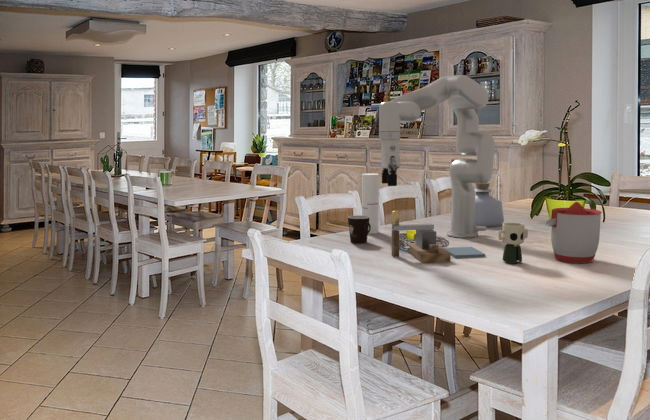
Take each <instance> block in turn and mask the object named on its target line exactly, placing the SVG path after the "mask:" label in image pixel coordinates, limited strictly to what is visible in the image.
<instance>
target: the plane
mask: <svg viewBox="0 0 650 420" xmlns="http://www.w3.org/2000/svg"><path fill="white" fill-rule="evenodd" d="M413 240H414V241H416V233H413ZM407 244H408V246H409V247H410V249H409V250H408V251H406V252H407V253H408V254H409V255H410V256H412V257H413V258H414V259H416V260H417V261H419V263H421V264H433V263H437V264H438V263H450V262H451V259H452V256H451V253H449V252H448V251H446V250H445V249H443V248H444V247H441V246H440V245H439V244H437V243H436V244H430V249H421V248H420V247H418V246H417V245H416V243H407ZM391 257H393V258H399V257H400V230H395V231H394V230H392V229H391Z"/></svg>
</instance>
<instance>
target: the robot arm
mask: <svg viewBox="0 0 650 420" xmlns="http://www.w3.org/2000/svg"><path fill="white" fill-rule="evenodd" d="M445 101H447V102H448V105H449V107H450V108H451V109H452V111H453V112H454V114H455V116H456V119H457V120H456V121H457V125H456V126H457V127H456V138H455V151H456V153H458V155H461V156H467V157H468V156H471V157H476V159H475V158H474V159H472V158H458V159H455V160H453V162H451V163H450V167H449V176H450V177H449V178H450V182H451V208H450V209H451V213H450V214H451V216H450V217H451V219H450V230H448V231H447V232H446V235H447V236H449V237H452V238H460V239H466V238H468V239H470V238H471V239H472V238H476V237H478V236H479V231H480V232H484V231H486V230H487V227H486V226H477V225H475V195H476V192H475V190H474V189H475V187H474V185H473V184H476V183H479V184H484V183H489V182H490V180H491V178H492V176H493V172H494V163H495V161H494V160H495V151H496V150H495V149H496V143H495V142H496V141H495V139H494V137H493V136H492V134H491V133H488V132H483V131H482V132H480V131H479V129H480V126H479V125H480V121H479V120H480V119H479V116H478V114H477V112H476V110H481V109H483V108H485V107H486V106H487V104H488V102H489V93H488V91H487V89H486V88H485V87H484V86H482V85H481V84H479V83H478V82H477V81H475V80H474V79H473V78H470V77H469V76H467V75H464V74H457V75H455V74H454V75H446V76H442V77H440V78H438V79H436V80H434V81H432V82H431V83H429V84H427V85H425V86H424V87H421V88H418V89H416V90H412V91H410V92H407V93H404V94H401V95H399V96H397V97H395V98H393V99H391V100H390V101H383V102H381V103H380V104H379V108H378V110H379V111H378V112H379V113H378V115H379V117H378V141H379V142H381V146H380V165H381V167H382V168H381V183H382V184H387V187H397V185H398V171H397V170H398V169H399V168H400V164H401V163H400V143H399V142H401V123H413V122H416V121H417V120H418V119H419V118H420V116H421V112H423V111H427V110H432V109H434V108H435V107H438V106H439V105H440V104H442V103H444V102H445Z"/></svg>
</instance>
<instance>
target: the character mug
mask: <svg viewBox="0 0 650 420" xmlns="http://www.w3.org/2000/svg"><path fill="white" fill-rule="evenodd" d="M501 227H502V229H500V230H498V235H497V237H498V240H499V241H501V242H502V243H504V244H505V246H504V247H503V253H502V261H504V262H505V263H509V264H510V263H512V264H516V263H517V262H518V263H522V262H523V256H522V255H523V254H522V253H523V252H522V247H521V245H522V244H523V243H524V241H525V239H527V238H528V237H529V233H528V232H529V230H528V228H526V227H525V223H519V222H503V223H502V226H501Z"/></svg>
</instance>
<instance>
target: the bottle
mask: <svg viewBox="0 0 650 420" xmlns="http://www.w3.org/2000/svg"><path fill="white" fill-rule="evenodd" d="M490 185H491V183H490V182H487V183H484V184H479V183H475V186H476V188H474V190H475V225H477V226H486V228H493V227H500V226H501V225H503V223H505V222H504V221H505V217H504V211H503V201H501V200H500V199H497V198H496V197H493V196H491V194H490V193H491V192H493V190H492V189H491V188H490Z"/></svg>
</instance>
